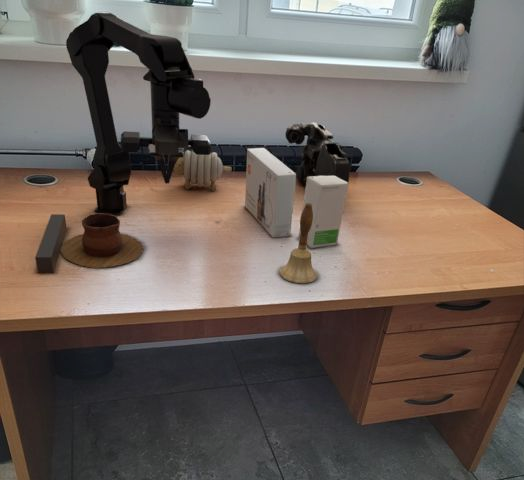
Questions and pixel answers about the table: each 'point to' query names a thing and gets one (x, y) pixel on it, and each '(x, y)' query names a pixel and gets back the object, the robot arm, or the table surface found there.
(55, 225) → the rail
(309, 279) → the hand bell
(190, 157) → the toy sheep
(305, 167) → the movie camera
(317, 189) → the cosmetic box
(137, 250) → the ceramic pot
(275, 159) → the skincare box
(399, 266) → the table surface
